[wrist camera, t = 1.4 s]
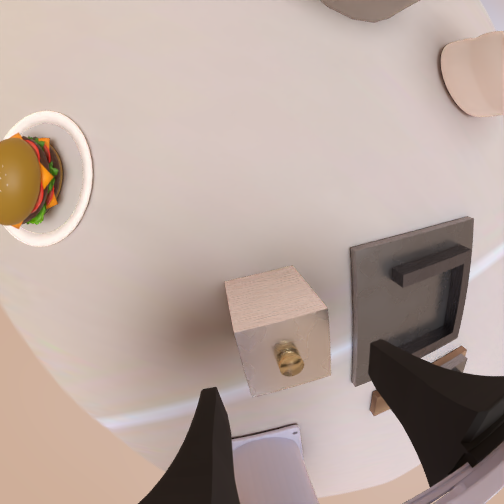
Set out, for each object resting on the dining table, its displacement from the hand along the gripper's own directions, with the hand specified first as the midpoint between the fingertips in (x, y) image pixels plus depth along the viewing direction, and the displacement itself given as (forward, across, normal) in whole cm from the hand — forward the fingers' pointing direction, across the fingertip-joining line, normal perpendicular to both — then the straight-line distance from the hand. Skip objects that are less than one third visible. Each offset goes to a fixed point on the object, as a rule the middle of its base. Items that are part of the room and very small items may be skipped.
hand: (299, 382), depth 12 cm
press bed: (+8, -13, +4) cm, 16 cm away
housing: (+8, 0, 0) cm, 8 cm away
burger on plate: (+9, +13, -12) cm, 20 cm away
